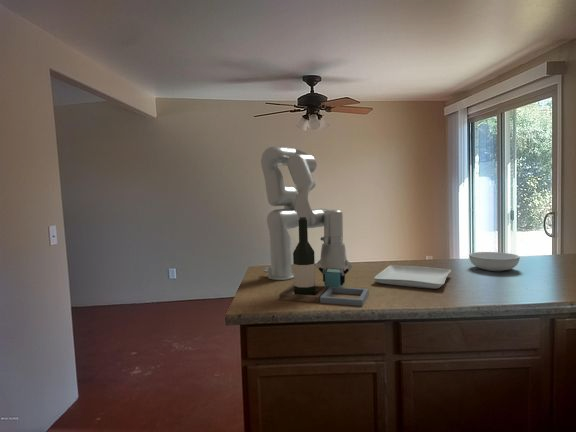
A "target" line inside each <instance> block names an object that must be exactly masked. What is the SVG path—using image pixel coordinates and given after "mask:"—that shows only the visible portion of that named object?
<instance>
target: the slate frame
mask: <svg viewBox="0 0 576 432" xmlns="http://www.w3.org/2000/svg"><path fill="white" fill-rule="evenodd" d="M369 292H370V291H369V288H361V287H347V286H345V287H343V286H342V287H331V286H330V287H329V288H328V289H327V290H326V291H325V292H324V293H323V295H322V296H321V297H320V302H319V303H320V304H330V305H331V304H332V305H333V304H334V305H343V306H345V305H346V306H355V307H356V306H359V307H363V306H364V304H365V302H366V301H367V298H368V296H369V294H370V293H369ZM333 294H348V295H360V296H359V298H354V297H353V298H352V297H341V296H339V297H336V296H332V295H333Z"/></svg>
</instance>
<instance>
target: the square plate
mask: <svg viewBox="0 0 576 432" xmlns="http://www.w3.org/2000/svg"><path fill="white" fill-rule="evenodd" d="M451 272H452V269H450V268H449V269H448V268H438V267H429V266H417V265H397V264H396V265H395V264H394V265H388V266H387V267H386V268H384V269H383V270H382V271H380V272H378V273H377V274H376V275H375V276H374V277H373V280H374V281H375V282H377V283H379V284H383V285H388V286H389V285H390V286H391V285H392V286H399V287H411V288H419V289H436V290H437V289H439V288H440V287H442V286H443V285H444V284H445V282H446V279H447V277H448V275H449V274H450V273H451Z"/></svg>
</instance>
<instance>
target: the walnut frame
mask: <svg viewBox="0 0 576 432" xmlns="http://www.w3.org/2000/svg"><path fill="white" fill-rule="evenodd" d="M328 288H329V286H325V285H315V293H317V292H318V293H317V294H315V296H313V295H299V294H294V283H293V284H291V285H290V286H288V287H287V288H285V290H283V291H281V292H280V293H279V300H280V299H281V300H282V301H291V300H293V301H292V302H295V301H296V302H304V301H305V302H306V303H317V304H319V303H320V297H321V296H322V295H323V293H324V292H325V291H326V290H327V289H328ZM281 300H280V301H281Z"/></svg>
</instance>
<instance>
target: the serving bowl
mask: <svg viewBox="0 0 576 432" xmlns="http://www.w3.org/2000/svg"><path fill="white" fill-rule="evenodd" d="M468 257H469V260H470V262H471V264H472V265H474V267H475V268H479V269H481V270H484V271H488V272H504V271H507V270H511V269H515V267H516V266H517V265H518V264H519V261H520V258H521V257H520V255H518V254H516V253H515V254H514V253H508V252H498V251H495V252H494V251H478V252H476V251H474V252H471V253H469V254H468Z"/></svg>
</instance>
